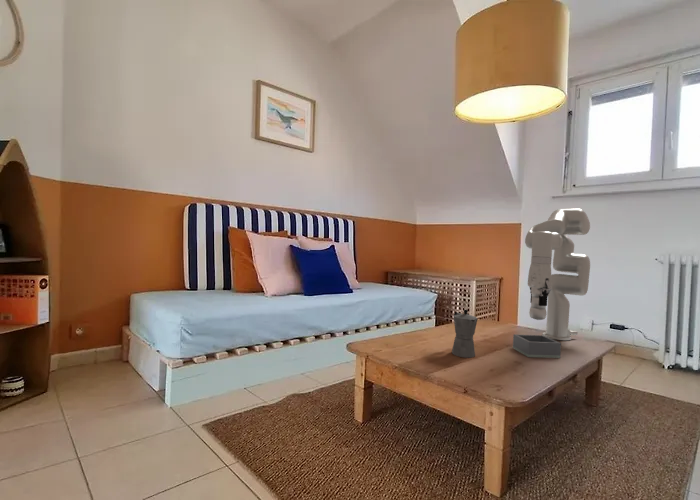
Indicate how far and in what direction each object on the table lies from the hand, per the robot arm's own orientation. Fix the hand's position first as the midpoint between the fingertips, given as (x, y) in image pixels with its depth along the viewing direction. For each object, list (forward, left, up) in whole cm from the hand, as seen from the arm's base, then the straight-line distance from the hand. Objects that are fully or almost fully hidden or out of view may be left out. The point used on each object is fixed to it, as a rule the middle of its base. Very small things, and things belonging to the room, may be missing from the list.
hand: (538, 304), depth 156 cm
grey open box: (0, 0, -21) cm, 21 cm away
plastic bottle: (0, 0, -7) cm, 7 cm away
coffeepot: (+33, +4, -21) cm, 39 cm away
